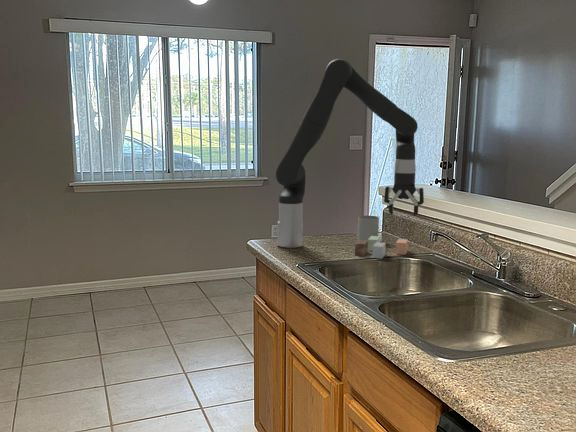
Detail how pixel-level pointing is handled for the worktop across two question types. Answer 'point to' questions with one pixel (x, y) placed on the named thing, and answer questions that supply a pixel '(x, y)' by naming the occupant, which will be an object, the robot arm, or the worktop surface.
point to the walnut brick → (361, 247)
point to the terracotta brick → (402, 246)
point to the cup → (367, 227)
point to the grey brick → (379, 250)
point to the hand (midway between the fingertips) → (403, 214)
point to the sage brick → (372, 242)
